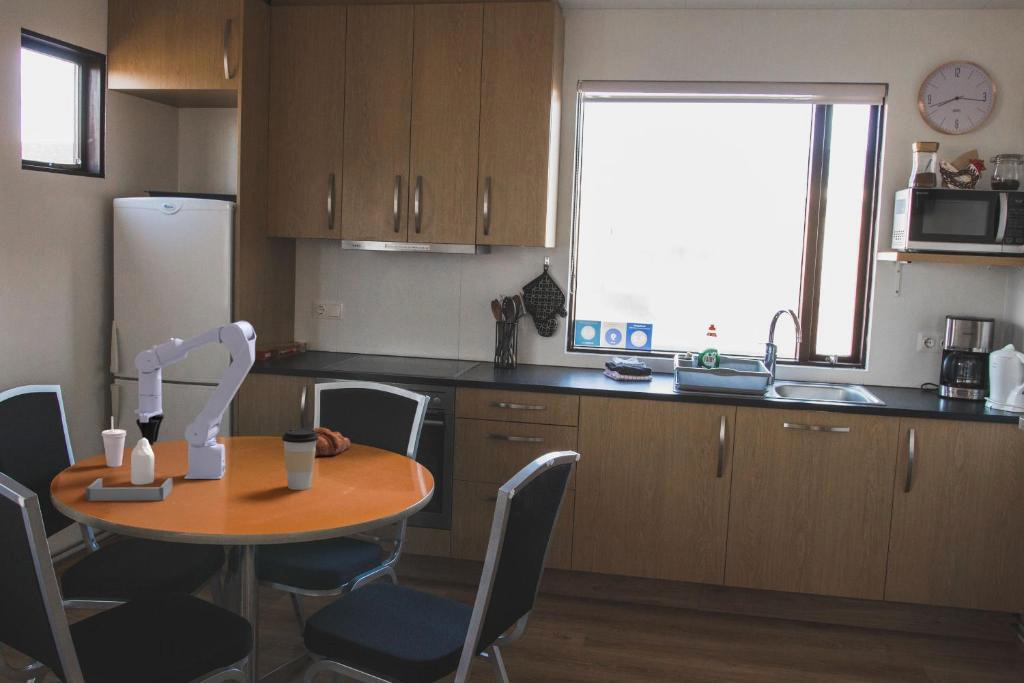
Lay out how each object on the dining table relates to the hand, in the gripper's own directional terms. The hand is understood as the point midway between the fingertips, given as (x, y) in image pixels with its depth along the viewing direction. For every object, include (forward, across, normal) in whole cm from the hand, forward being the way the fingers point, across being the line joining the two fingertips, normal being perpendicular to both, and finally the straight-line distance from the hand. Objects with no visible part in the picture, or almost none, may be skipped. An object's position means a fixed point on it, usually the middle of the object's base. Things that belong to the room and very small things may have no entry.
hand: (150, 443), depth 247 cm
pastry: (+9, -26, +45) cm, 53 cm away
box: (+8, +20, 0) cm, 22 cm away
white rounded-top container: (+9, +8, 0) cm, 12 cm away
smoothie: (+9, -10, -12) cm, 18 cm away
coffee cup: (+9, +14, +41) cm, 44 cm away
